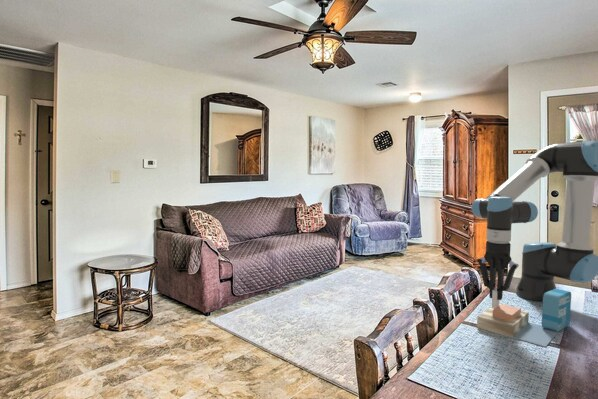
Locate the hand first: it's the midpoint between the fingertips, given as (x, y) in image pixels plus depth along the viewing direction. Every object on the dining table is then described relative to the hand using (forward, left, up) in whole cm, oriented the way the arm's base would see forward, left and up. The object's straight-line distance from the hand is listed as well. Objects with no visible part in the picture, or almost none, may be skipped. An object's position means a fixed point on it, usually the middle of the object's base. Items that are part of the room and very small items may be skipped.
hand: (495, 307), depth 131 cm
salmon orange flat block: (0, +4, -1) cm, 4 cm away
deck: (0, +3, -5) cm, 6 cm away
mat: (0, +13, -5) cm, 14 cm away
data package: (-11, +16, -5) cm, 20 cm away
